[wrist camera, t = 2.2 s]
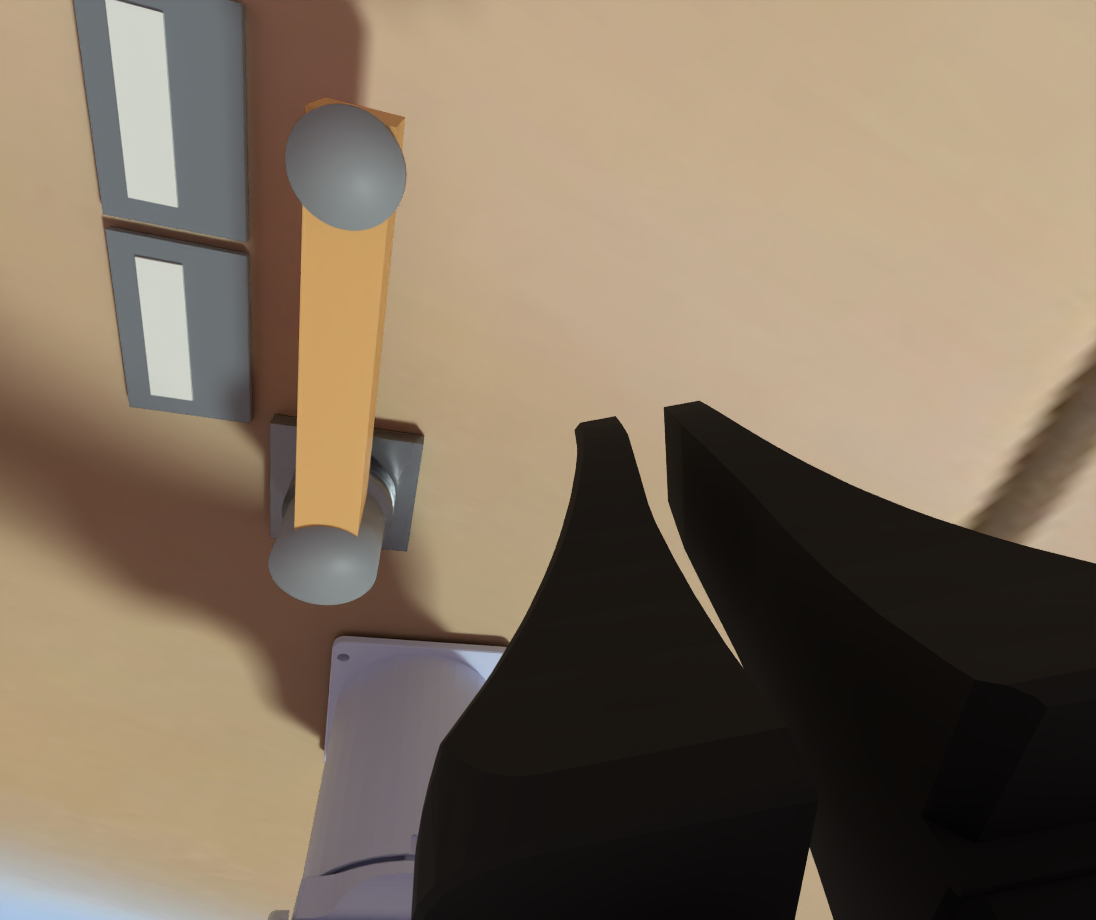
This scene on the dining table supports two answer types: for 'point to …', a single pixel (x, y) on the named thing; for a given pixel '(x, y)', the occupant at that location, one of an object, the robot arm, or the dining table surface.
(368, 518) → the swing arm
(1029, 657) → the robot arm
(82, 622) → the dining table surface
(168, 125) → the label
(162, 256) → the label
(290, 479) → the square flange plate
